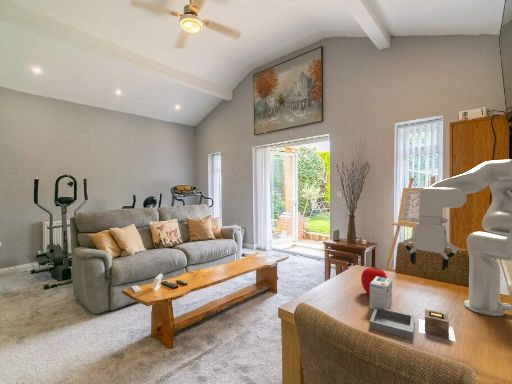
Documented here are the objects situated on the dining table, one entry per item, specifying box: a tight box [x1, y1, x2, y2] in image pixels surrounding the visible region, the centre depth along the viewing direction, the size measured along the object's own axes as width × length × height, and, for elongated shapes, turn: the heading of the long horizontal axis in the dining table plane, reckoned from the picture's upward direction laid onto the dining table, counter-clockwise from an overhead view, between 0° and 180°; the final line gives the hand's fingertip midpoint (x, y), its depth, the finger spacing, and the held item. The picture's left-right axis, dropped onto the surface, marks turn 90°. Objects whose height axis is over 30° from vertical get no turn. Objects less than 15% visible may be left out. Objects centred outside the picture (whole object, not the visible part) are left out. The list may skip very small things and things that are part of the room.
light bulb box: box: [369, 276, 393, 310], centre depth 110 cm, size 11×7×11 cm, turn 142°
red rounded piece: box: [360, 266, 388, 295], centre depth 121 cm, size 11×11×13 cm
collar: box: [424, 308, 450, 337], centre depth 90 cm, size 7×7×5 cm
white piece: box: [418, 313, 456, 342], centre depth 90 cm, size 10×10×6 cm
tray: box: [369, 307, 415, 341], centre depth 93 cm, size 13×13×4 cm
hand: (428, 266), depth 98 cm, fingers open, 9 cm apart
